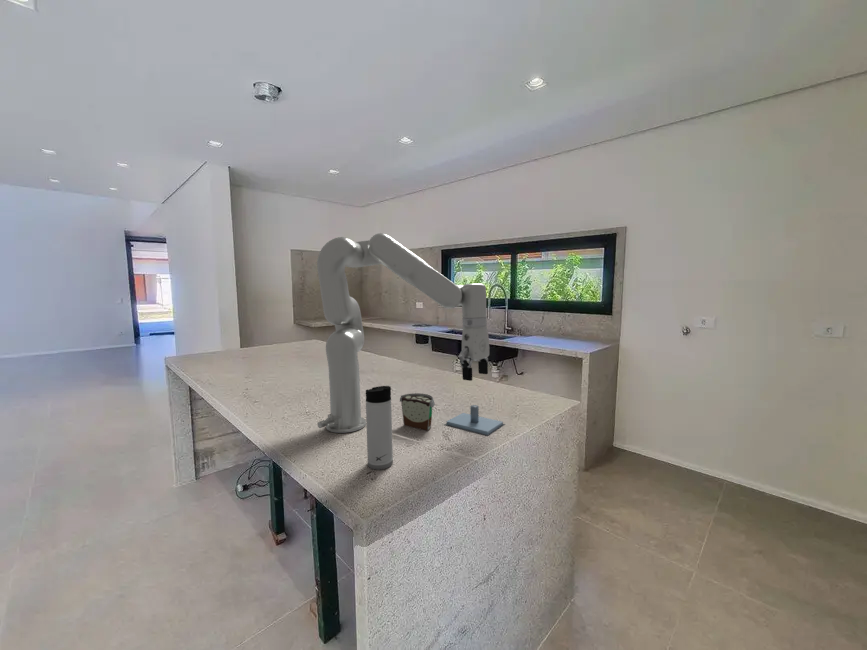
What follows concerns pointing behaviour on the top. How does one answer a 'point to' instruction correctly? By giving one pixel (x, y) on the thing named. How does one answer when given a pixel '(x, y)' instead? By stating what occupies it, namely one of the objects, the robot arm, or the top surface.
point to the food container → (417, 410)
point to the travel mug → (379, 427)
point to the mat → (473, 431)
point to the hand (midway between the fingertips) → (475, 376)
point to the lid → (475, 422)
